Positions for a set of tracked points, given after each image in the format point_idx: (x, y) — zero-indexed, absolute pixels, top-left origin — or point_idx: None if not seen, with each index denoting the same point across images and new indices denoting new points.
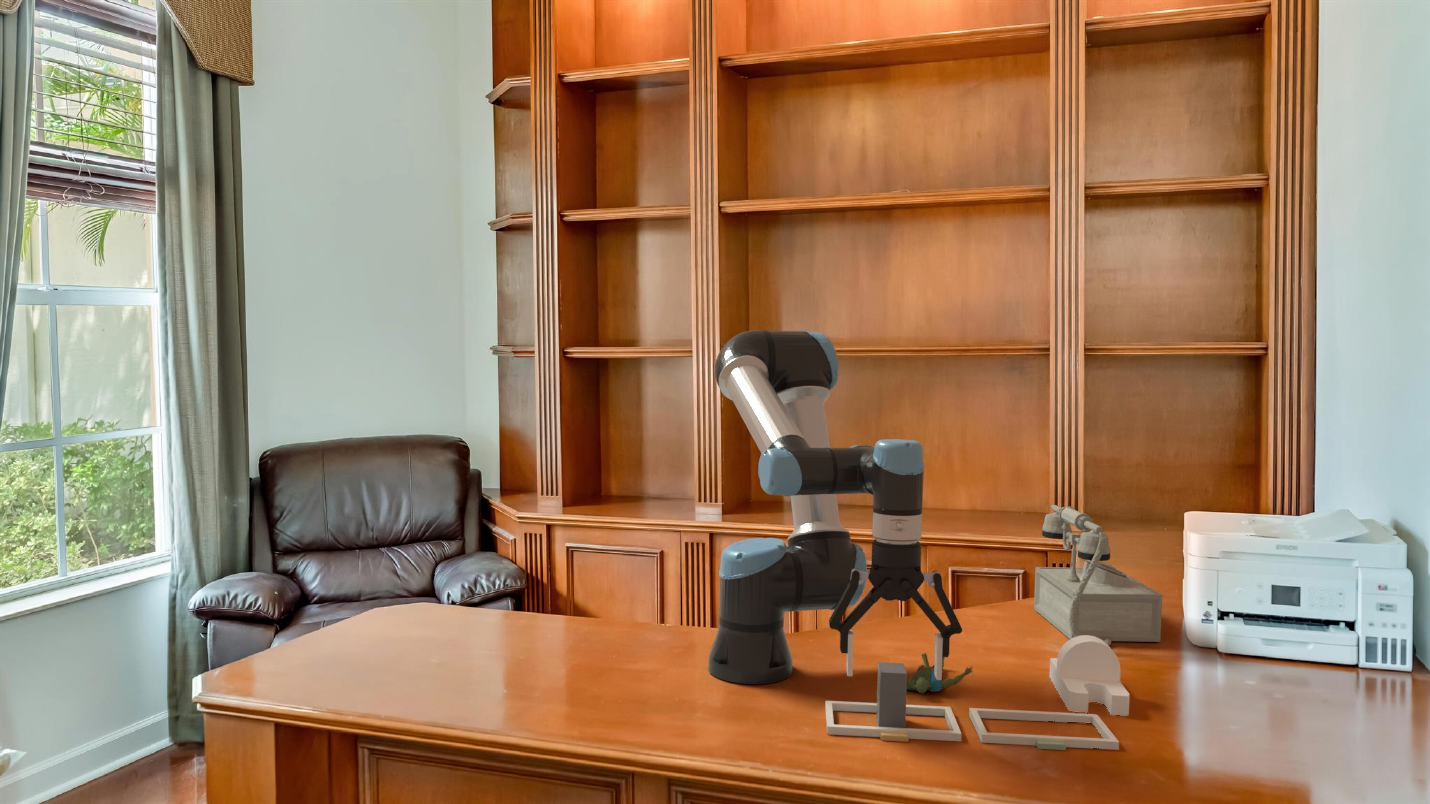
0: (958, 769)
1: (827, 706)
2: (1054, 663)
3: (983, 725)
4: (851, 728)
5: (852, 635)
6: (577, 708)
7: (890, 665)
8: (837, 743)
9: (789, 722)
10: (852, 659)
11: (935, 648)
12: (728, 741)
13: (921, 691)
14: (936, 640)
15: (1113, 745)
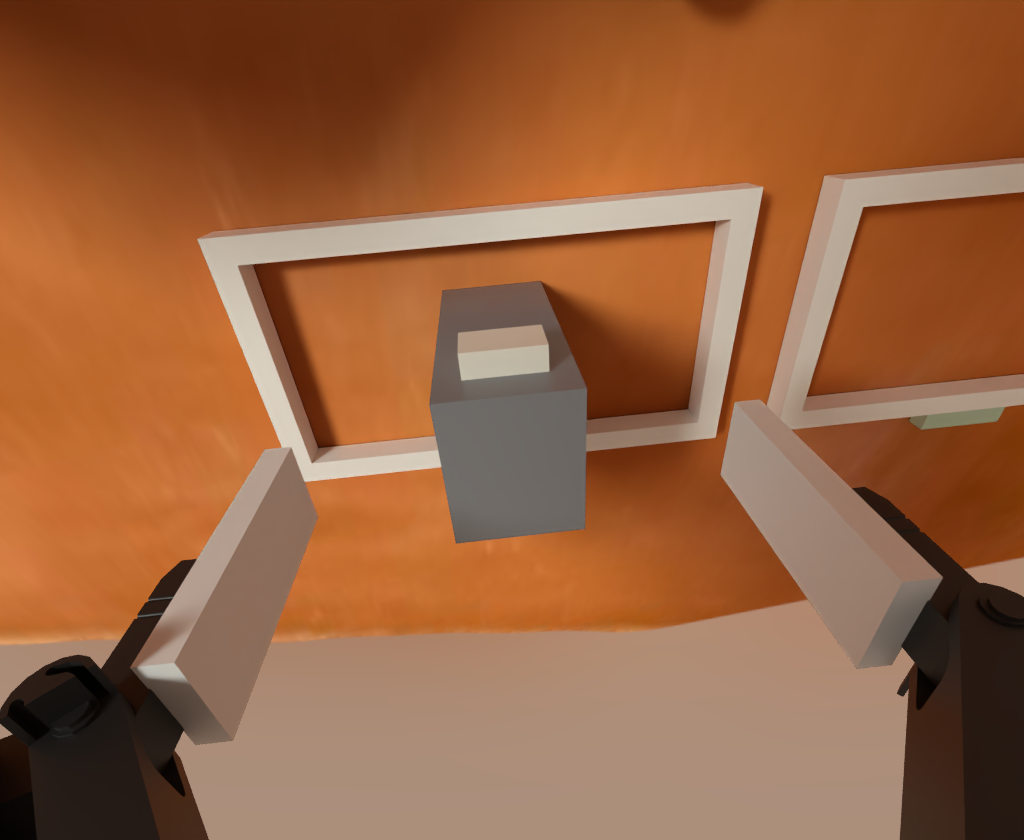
0: (649, 562)
1: (232, 309)
2: None
3: (816, 359)
4: (374, 473)
5: (229, 736)
6: None
7: (505, 441)
8: (349, 509)
9: (144, 407)
10: (290, 584)
11: (817, 521)
12: (51, 563)
13: None
14: (851, 601)
15: None
